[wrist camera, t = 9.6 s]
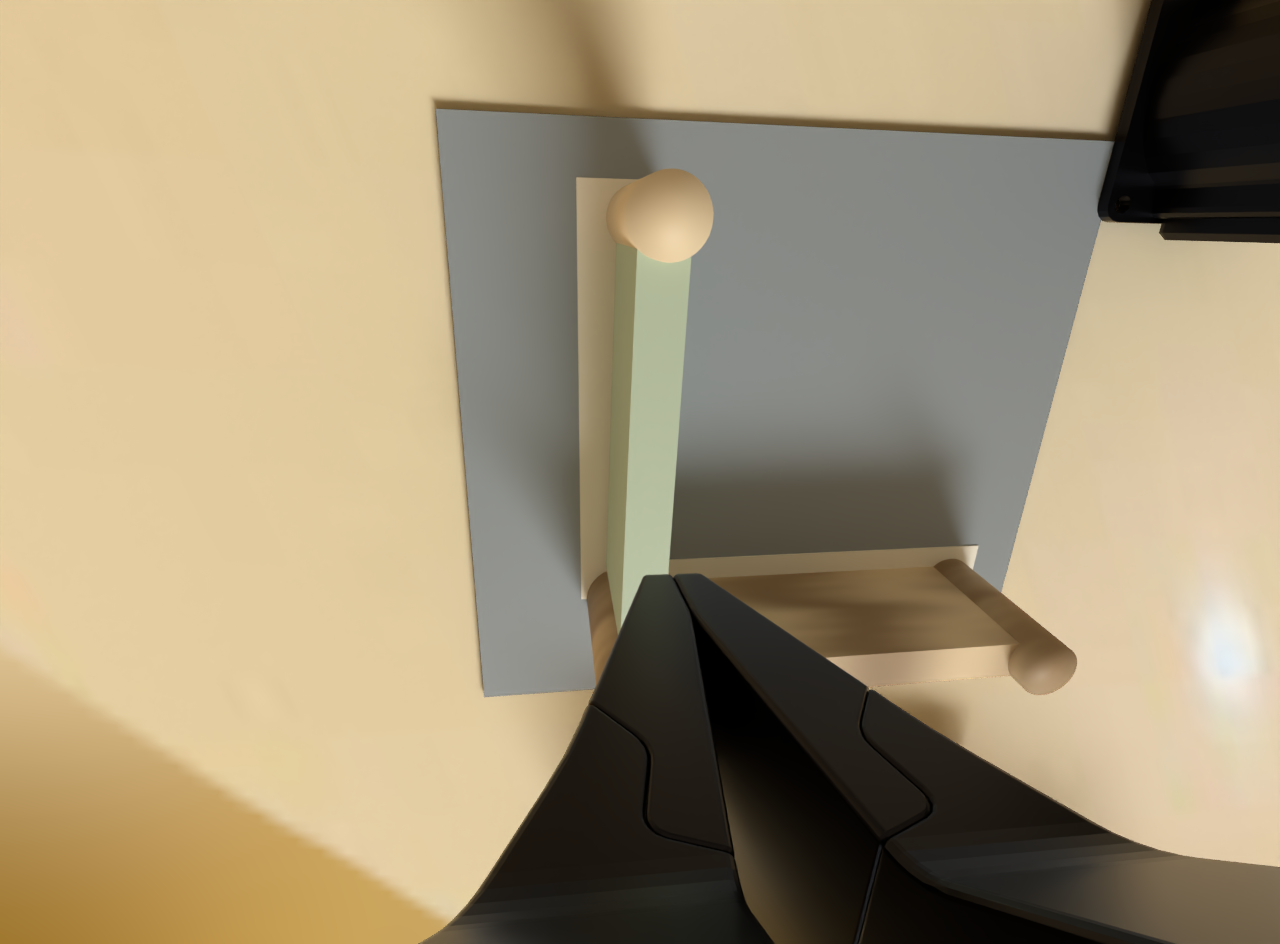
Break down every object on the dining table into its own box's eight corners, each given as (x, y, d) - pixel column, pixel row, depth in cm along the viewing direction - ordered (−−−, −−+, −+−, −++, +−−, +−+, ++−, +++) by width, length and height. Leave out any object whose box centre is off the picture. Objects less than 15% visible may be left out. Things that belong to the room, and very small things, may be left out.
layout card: (436, 110, 17) (435, 108, 16) (1116, 142, 19) (1123, 141, 19) (484, 693, 23) (484, 698, 23) (979, 657, 26) (983, 661, 26)
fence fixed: (586, 623, 23) (598, 745, 18) (586, 565, 22) (598, 675, 17) (958, 601, 25) (1070, 704, 20) (971, 547, 24) (1091, 640, 19)
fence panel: (649, 564, 22) (676, 656, 17) (597, 565, 21) (611, 659, 17) (672, 184, 17) (717, 171, 13) (607, 181, 17) (629, 165, 13)
